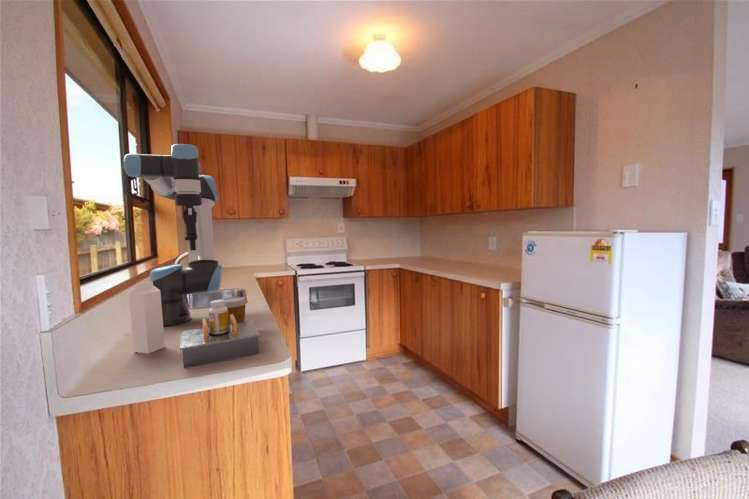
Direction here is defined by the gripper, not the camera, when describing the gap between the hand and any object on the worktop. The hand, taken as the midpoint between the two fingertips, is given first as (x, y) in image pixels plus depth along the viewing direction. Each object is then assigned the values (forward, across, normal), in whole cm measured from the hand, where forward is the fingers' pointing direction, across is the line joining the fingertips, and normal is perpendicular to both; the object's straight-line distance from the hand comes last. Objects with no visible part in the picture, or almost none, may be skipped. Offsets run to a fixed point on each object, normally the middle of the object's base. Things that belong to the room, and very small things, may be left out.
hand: (193, 258), depth 113 cm
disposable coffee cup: (+29, -4, +12) cm, 32 cm away
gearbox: (+28, +16, +5) cm, 32 cm away
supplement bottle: (+22, +15, +5) cm, 27 cm away
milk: (+29, 0, -14) cm, 32 cm away
